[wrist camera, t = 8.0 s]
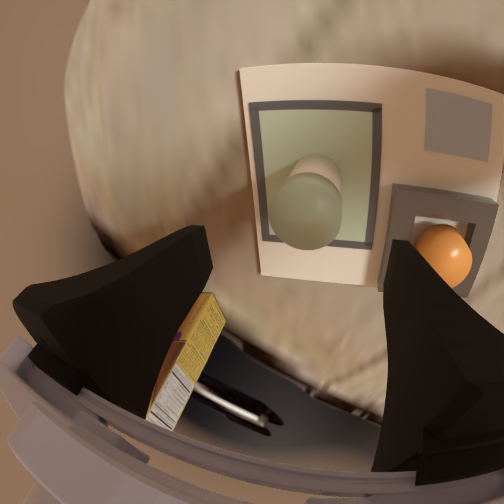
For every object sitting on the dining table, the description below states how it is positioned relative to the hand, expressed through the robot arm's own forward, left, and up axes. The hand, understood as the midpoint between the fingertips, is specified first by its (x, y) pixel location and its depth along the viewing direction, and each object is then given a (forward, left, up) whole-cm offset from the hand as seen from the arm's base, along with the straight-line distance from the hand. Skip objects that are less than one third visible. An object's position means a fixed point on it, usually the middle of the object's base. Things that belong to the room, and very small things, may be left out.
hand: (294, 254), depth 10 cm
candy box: (+14, +15, -10) cm, 22 cm away
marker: (0, 0, -9) cm, 9 cm away
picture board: (-4, +1, -9) cm, 10 cm away
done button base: (-9, +4, -9) cm, 14 cm away
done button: (-9, +4, -8) cm, 13 cm away
